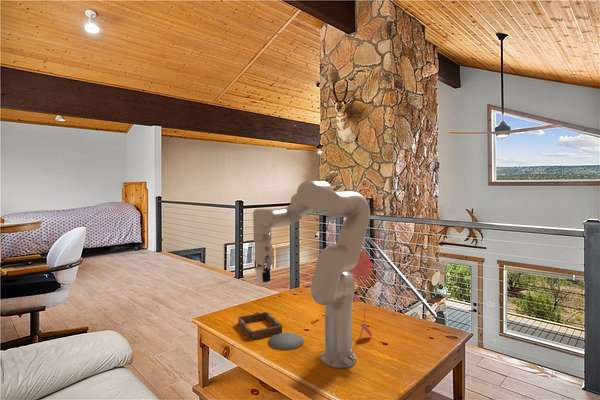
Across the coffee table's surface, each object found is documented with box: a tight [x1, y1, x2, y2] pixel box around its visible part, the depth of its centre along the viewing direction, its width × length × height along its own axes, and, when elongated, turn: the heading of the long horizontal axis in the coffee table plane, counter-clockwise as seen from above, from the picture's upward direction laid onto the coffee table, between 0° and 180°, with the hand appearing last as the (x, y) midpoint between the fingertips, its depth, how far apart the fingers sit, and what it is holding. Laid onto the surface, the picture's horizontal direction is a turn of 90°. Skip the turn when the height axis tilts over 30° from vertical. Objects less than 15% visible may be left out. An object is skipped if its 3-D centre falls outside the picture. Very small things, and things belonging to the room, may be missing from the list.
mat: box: [267, 332, 305, 351], centre depth 134 cm, size 14×14×1 cm
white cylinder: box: [254, 266, 272, 287], centre depth 144 cm, size 7×7×7 cm
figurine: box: [350, 249, 385, 346], centre depth 143 cm, size 15×26×35 cm, turn 41°
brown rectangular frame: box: [237, 311, 283, 341], centre depth 147 cm, size 18×14×3 cm
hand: (263, 279), depth 144 cm, fingers closed on white cylinder, 6 cm apart
